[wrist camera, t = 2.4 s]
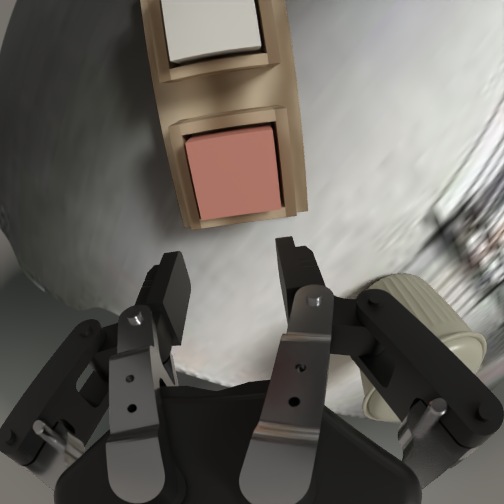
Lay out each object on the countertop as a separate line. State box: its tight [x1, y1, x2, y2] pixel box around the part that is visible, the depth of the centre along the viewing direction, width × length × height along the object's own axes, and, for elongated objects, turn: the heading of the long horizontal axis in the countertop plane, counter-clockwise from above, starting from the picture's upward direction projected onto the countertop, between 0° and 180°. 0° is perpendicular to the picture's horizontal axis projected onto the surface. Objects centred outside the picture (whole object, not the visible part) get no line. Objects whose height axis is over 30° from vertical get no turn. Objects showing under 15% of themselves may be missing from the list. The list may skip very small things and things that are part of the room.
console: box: [140, 0, 308, 230], centre depth 25 cm, size 14×28×7 cm, turn 8°
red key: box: [185, 125, 281, 220], centre depth 26 cm, size 7×7×3 cm
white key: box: [161, 0, 261, 64], centre depth 18 cm, size 7×7×3 cm
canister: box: [360, 273, 486, 422], centre depth 35 cm, size 18×18×21 cm
